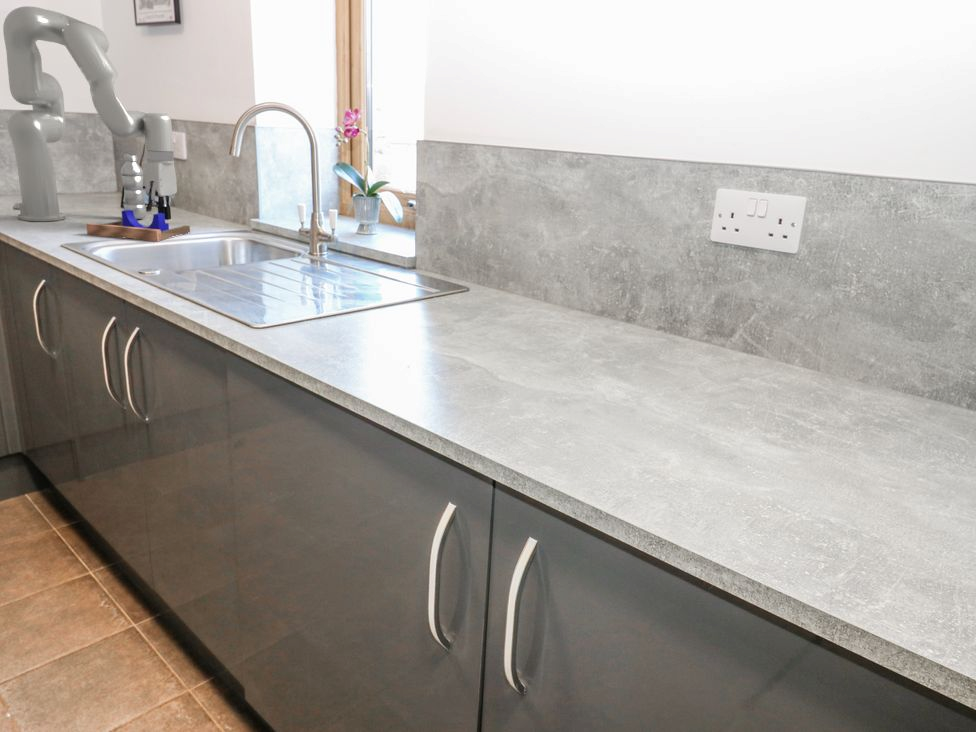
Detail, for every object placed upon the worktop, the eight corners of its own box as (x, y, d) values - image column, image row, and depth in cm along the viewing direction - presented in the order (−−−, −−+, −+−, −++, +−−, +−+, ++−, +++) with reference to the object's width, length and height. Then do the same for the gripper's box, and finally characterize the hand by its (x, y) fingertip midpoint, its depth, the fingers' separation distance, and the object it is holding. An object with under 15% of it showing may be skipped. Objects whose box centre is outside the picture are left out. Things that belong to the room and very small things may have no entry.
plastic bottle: (120, 218, 237) (114, 153, 230) (140, 217, 242) (134, 153, 236) (131, 221, 233) (125, 155, 227) (151, 219, 239) (146, 155, 232)
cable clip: (169, 233, 219) (167, 213, 217) (159, 235, 215) (157, 214, 213) (133, 229, 221) (131, 209, 219) (123, 231, 217) (121, 211, 215)
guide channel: (87, 234, 208) (86, 223, 207) (124, 226, 224) (123, 216, 223) (157, 241, 205) (156, 230, 204) (190, 232, 221) (189, 222, 220)
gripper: (162, 155, 228) (167, 215, 233) (133, 157, 214) (139, 221, 219) (185, 156, 227) (189, 217, 233) (157, 159, 213) (162, 223, 219)
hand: (164, 219), depth 226 cm, fingers closed
